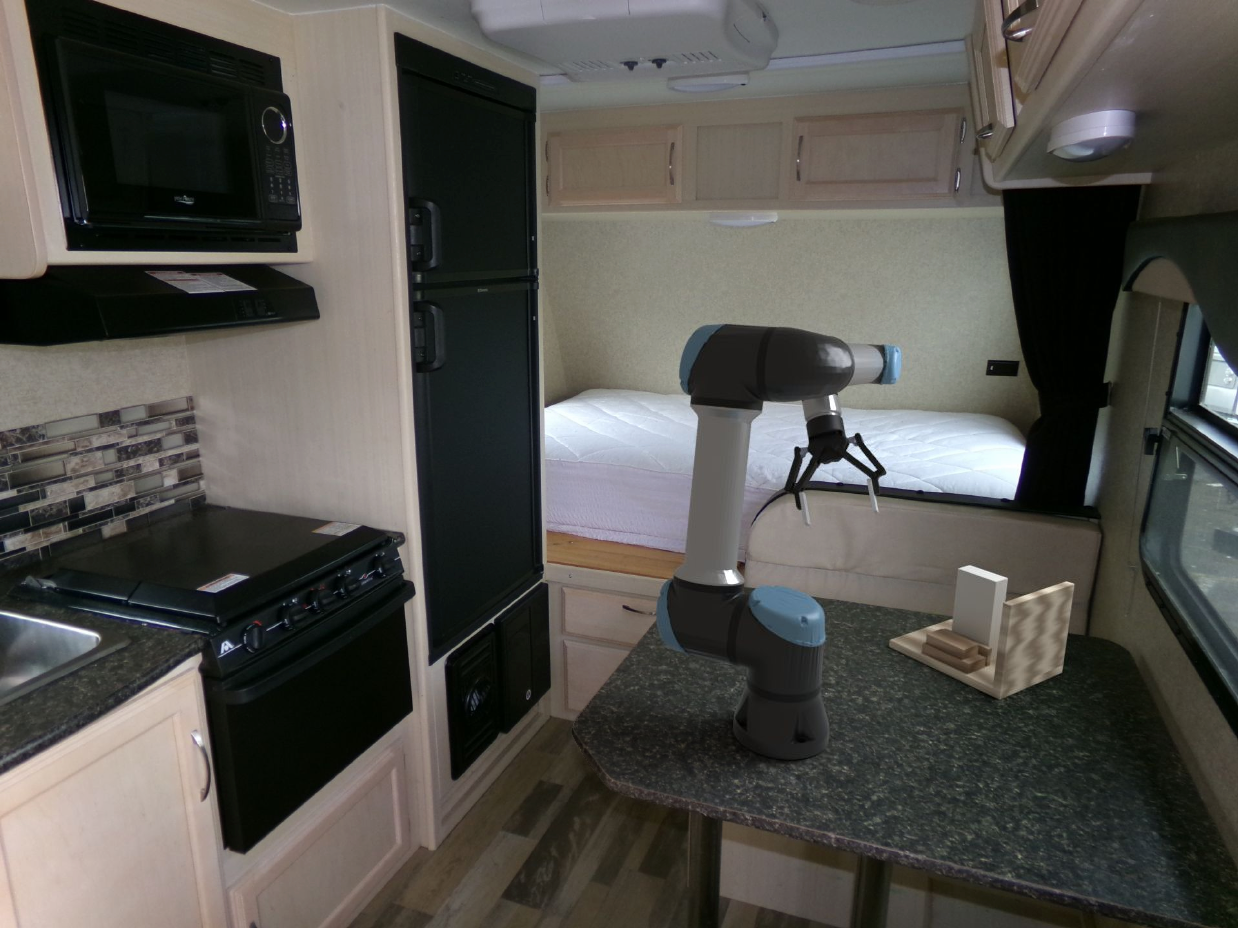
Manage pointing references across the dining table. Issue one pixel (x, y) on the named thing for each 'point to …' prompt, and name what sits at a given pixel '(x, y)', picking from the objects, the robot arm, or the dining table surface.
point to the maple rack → (1011, 643)
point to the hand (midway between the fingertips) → (841, 518)
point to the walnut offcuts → (953, 651)
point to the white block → (979, 606)
